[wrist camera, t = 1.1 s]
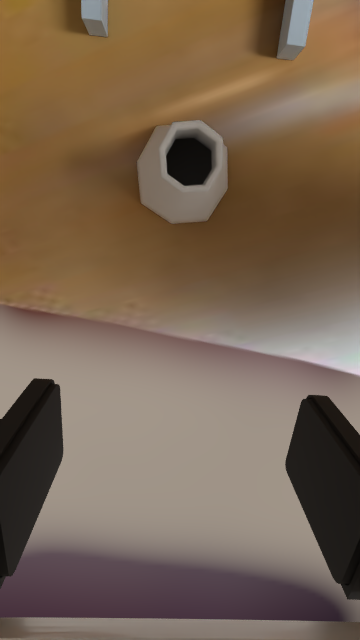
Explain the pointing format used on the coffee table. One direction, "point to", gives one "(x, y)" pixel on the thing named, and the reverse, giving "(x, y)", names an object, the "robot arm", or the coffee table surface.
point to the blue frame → (290, 36)
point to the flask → (183, 171)
